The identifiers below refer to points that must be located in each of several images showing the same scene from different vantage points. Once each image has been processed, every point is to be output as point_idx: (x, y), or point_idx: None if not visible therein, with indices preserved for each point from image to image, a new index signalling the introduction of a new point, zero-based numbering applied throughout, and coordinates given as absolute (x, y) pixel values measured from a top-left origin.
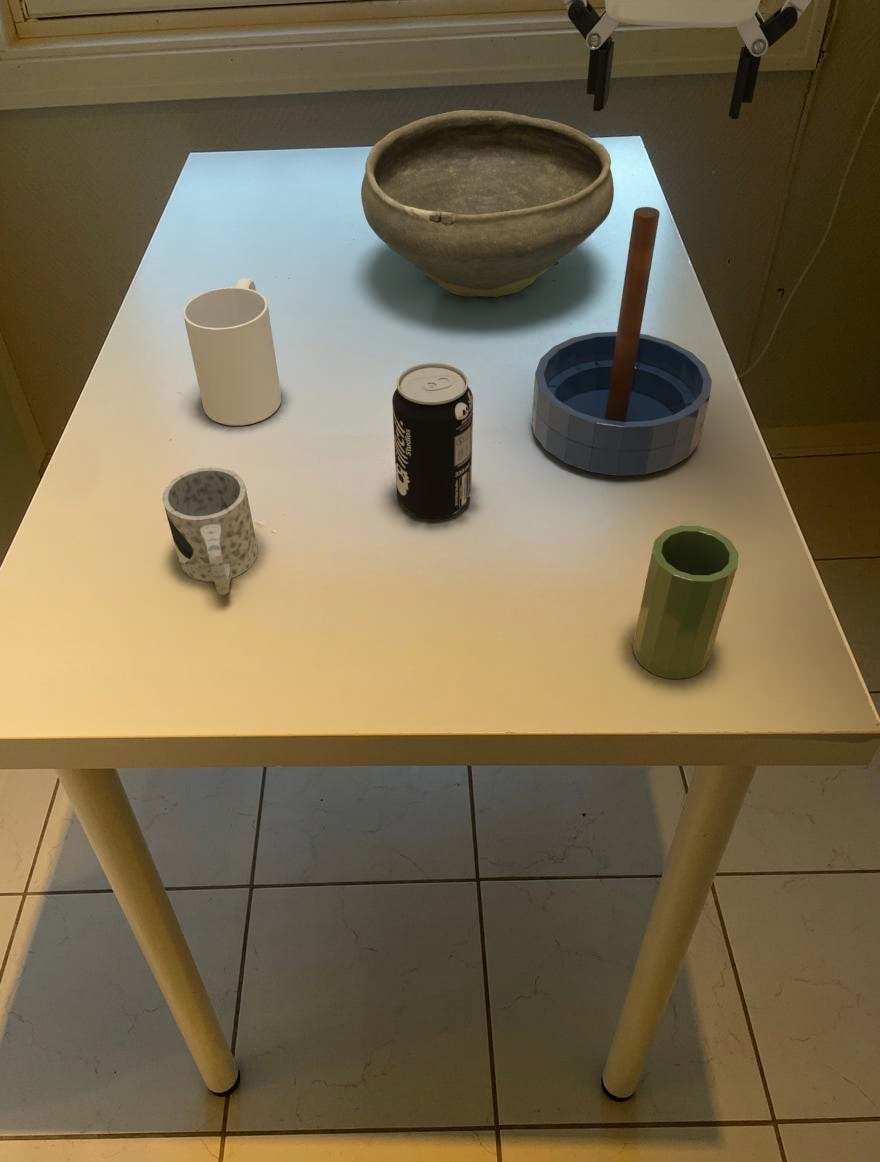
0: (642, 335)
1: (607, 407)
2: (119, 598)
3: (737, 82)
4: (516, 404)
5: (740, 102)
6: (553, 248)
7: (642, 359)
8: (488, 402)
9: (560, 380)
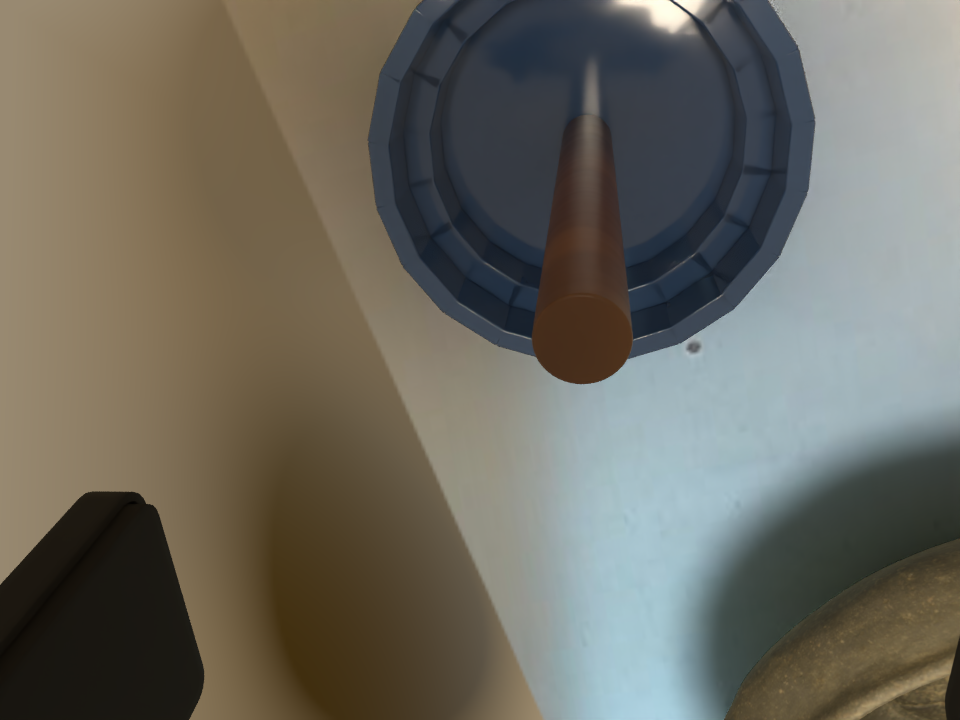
0: None
1: (608, 135)
2: None
3: (15, 642)
4: (826, 179)
5: (42, 543)
6: (836, 602)
7: None
8: (897, 169)
9: (737, 200)
